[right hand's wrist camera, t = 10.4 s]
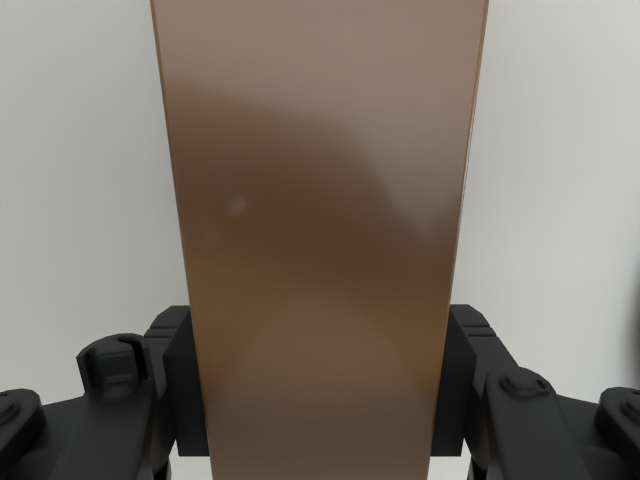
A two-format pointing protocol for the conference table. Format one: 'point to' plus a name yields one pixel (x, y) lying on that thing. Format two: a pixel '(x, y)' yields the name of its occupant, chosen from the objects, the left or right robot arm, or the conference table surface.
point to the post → (319, 221)
